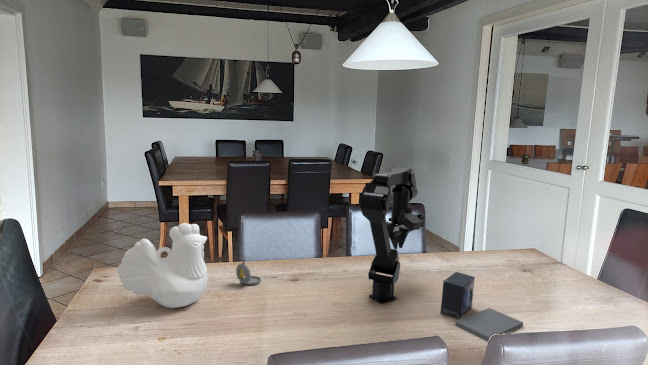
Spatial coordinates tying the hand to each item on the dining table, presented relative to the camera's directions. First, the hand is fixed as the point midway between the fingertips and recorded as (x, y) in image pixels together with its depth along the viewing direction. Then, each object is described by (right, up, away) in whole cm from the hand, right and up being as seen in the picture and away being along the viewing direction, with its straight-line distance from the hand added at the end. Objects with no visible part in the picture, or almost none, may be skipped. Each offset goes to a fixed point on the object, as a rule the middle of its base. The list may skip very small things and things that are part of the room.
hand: (398, 248), depth 151 cm
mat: (+21, -18, -26) cm, 38 cm away
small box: (+15, -17, -17) cm, 28 cm away
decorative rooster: (-74, -14, -17) cm, 77 cm away
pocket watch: (-52, -12, 0) cm, 53 cm away
